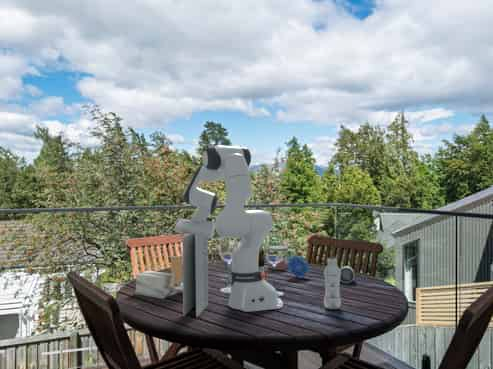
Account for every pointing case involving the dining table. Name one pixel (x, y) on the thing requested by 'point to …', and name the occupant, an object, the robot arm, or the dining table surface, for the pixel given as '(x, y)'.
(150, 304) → the dining table surface
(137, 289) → the block
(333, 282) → the plastic bottle
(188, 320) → the dining table surface
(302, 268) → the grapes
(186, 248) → the brochure
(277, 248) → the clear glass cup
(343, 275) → the ceramic mug
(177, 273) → the tan rectangular block
